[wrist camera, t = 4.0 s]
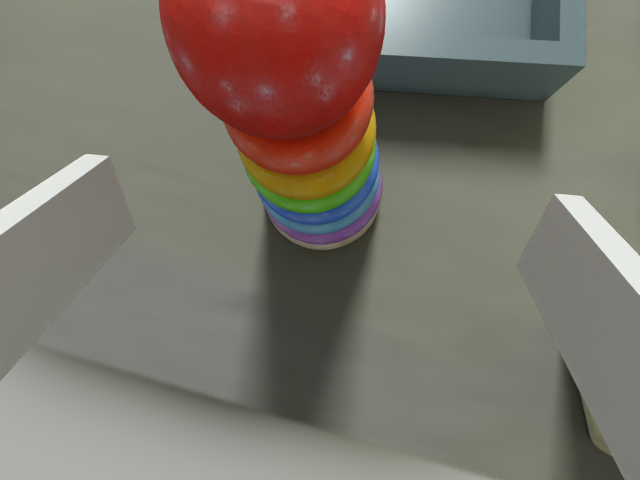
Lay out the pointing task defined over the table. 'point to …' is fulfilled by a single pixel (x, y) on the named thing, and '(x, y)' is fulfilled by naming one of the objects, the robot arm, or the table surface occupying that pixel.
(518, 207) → the table surface
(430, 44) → the tray
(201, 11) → the stacking toy
